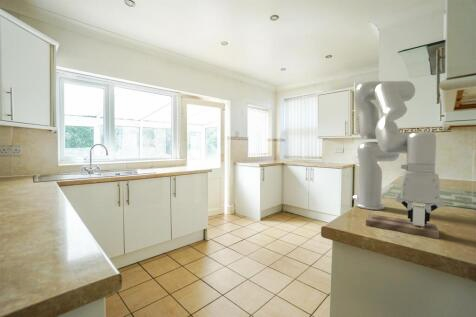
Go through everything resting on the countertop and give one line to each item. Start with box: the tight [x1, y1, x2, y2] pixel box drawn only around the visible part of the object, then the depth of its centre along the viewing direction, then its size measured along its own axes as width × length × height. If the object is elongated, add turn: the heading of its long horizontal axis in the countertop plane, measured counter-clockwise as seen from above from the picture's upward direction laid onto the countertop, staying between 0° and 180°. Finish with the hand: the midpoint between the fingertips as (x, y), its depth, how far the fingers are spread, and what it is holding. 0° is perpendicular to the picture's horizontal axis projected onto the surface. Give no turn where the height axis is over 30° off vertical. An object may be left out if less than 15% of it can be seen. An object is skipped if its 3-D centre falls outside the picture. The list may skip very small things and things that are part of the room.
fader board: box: [365, 213, 440, 239], centre depth 79 cm, size 20×9×2 cm, turn 53°
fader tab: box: [412, 203, 426, 226], centre depth 75 cm, size 3×5×6 cm, turn 143°
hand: (418, 221), depth 76 cm, fingers closed on fader tab, 3 cm apart
